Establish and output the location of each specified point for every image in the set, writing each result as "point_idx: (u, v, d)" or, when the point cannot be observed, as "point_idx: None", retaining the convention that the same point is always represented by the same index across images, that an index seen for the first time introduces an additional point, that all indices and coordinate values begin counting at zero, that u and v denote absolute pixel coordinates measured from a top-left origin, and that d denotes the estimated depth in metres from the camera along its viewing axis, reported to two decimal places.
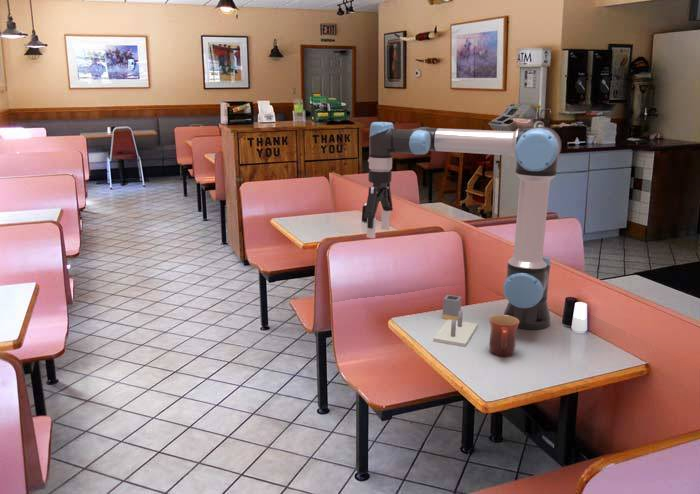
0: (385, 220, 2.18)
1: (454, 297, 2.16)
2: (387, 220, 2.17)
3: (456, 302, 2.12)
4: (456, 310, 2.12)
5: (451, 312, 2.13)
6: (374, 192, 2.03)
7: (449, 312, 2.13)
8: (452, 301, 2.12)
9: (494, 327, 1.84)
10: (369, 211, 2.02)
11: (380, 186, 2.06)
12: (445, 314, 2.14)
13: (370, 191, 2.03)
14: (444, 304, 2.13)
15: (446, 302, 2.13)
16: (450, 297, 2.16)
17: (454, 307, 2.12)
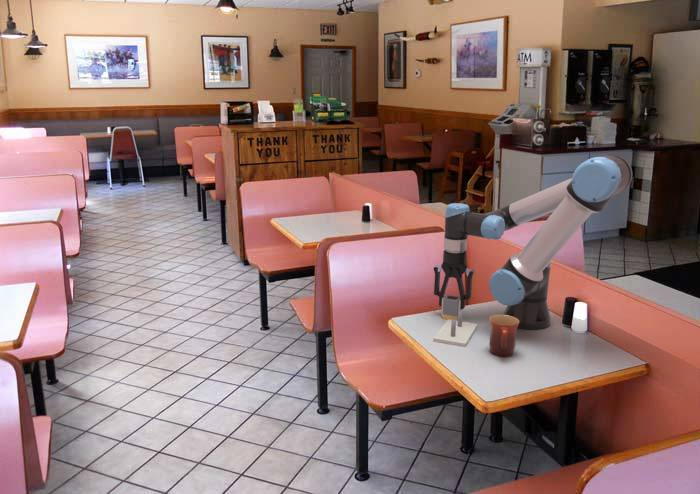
0: None
1: (454, 297, 2.16)
2: None
3: (456, 302, 2.12)
4: (456, 310, 2.12)
5: (451, 312, 2.13)
6: None
7: (449, 312, 2.13)
8: (452, 301, 2.12)
9: (494, 327, 1.84)
10: None
11: (445, 263, 2.11)
12: (445, 314, 2.14)
13: None
14: (444, 304, 2.13)
15: (446, 302, 2.13)
16: (450, 297, 2.16)
17: (454, 307, 2.12)
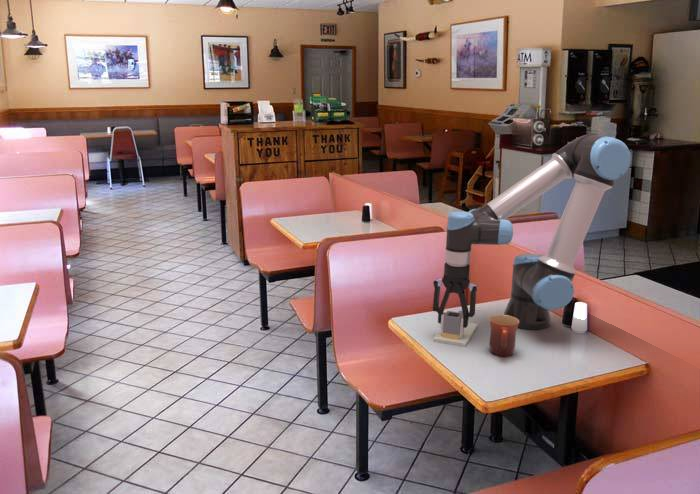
0: None
1: (455, 314, 1.97)
2: None
3: (457, 319, 1.93)
4: (458, 328, 1.93)
5: (452, 330, 1.94)
6: None
7: (450, 330, 1.95)
8: (453, 318, 1.93)
9: (494, 327, 1.84)
10: None
11: (446, 277, 1.93)
12: (445, 332, 1.95)
13: None
14: (444, 321, 1.95)
15: (446, 319, 1.94)
16: (451, 314, 1.98)
17: (455, 325, 1.94)
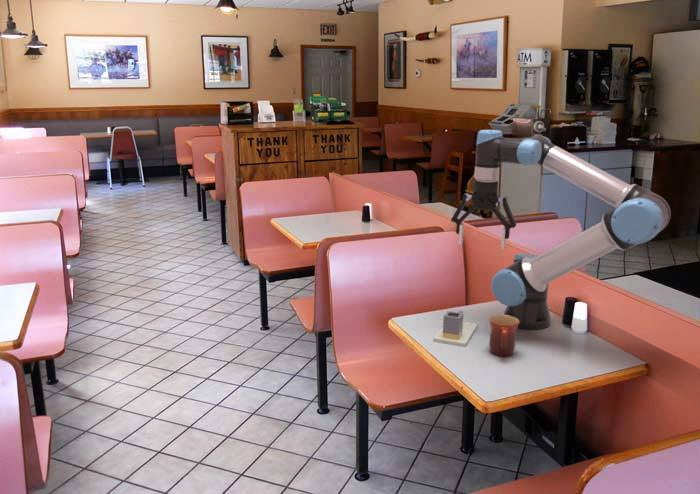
0: None
1: (455, 314, 1.97)
2: (502, 238, 1.99)
3: (457, 319, 1.93)
4: (458, 328, 1.93)
5: (452, 330, 1.94)
6: None
7: (450, 330, 1.95)
8: (453, 318, 1.93)
9: (494, 327, 1.84)
10: (453, 215, 2.04)
11: (477, 195, 1.99)
12: (445, 332, 1.95)
13: None
14: (444, 321, 1.95)
15: (446, 319, 1.94)
16: (451, 314, 1.98)
17: (455, 325, 1.94)
